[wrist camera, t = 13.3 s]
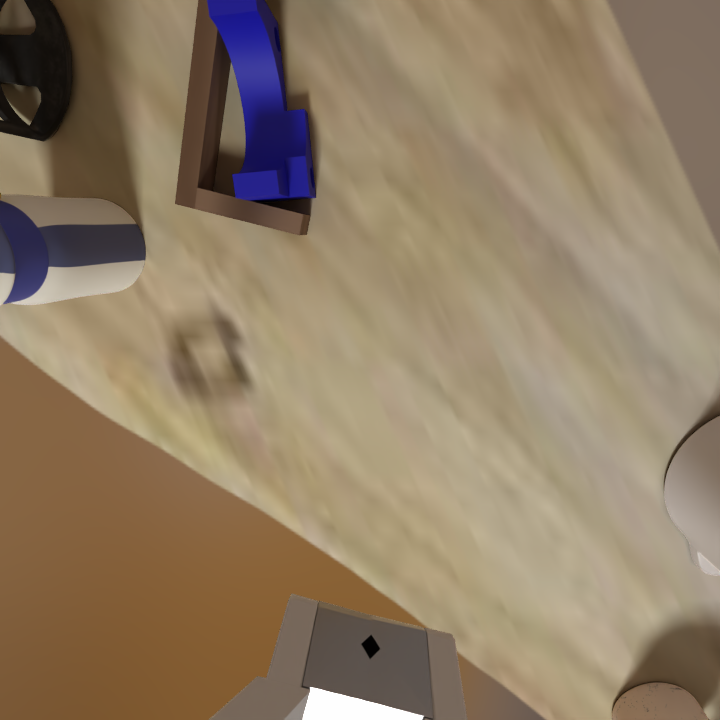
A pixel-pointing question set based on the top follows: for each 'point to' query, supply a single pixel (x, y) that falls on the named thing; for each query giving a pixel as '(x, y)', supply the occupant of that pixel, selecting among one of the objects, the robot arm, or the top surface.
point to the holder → (37, 72)
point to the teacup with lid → (657, 704)
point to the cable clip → (264, 106)
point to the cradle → (216, 137)
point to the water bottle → (65, 248)
